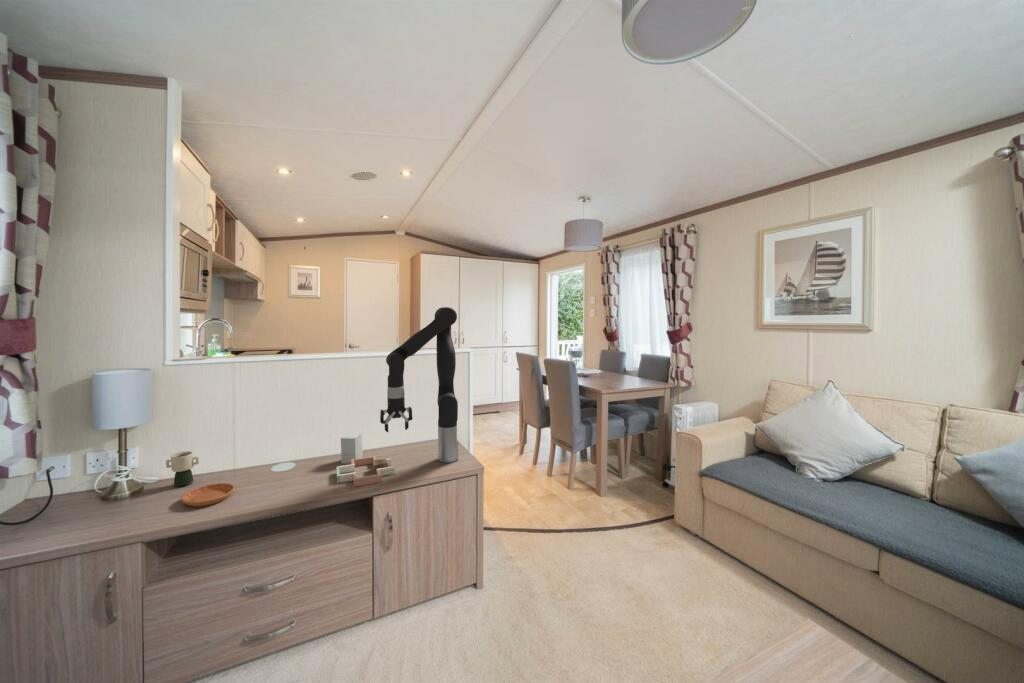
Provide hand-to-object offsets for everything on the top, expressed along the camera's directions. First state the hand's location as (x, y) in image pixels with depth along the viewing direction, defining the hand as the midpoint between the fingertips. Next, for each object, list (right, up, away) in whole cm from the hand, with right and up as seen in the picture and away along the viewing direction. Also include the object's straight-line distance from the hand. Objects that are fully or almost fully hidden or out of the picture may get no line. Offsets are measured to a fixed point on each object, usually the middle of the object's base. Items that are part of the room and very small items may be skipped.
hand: (396, 430), depth 177 cm
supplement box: (-25, -17, +10) cm, 32 cm away
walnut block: (-7, -18, -2) cm, 20 cm away
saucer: (-64, -20, -29) cm, 73 cm away
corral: (-12, -18, -4) cm, 22 cm away
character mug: (-84, -19, -17) cm, 88 cm away
